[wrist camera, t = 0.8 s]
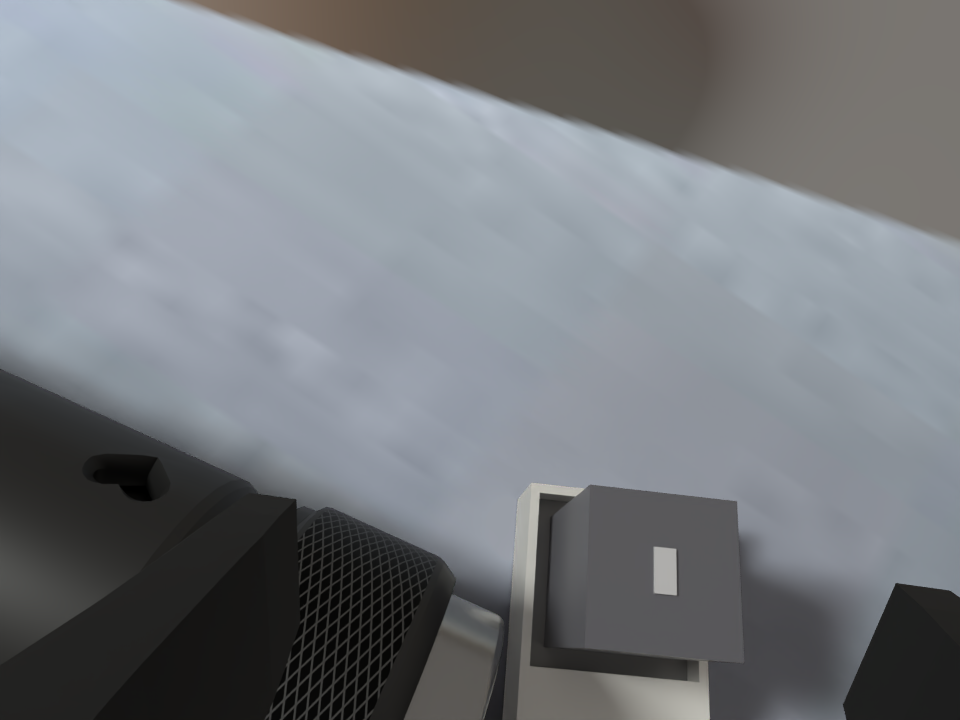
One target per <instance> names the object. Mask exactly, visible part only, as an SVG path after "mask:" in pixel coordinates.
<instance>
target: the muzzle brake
mask: <svg viewBox="0 0 960 720" xmlns="http://www.w3.org/2000/svg"><path fill="white" fill-rule="evenodd" d="M248 493H253V494H257V492H256V490H255V489H254V487H253V486H252V485H251V484H250V483H249V482H247V481H245V480H243V479H241V478H239V477H236V476H234V475H232V474H230V473H228V472H225V471H223V470H221V469H219V468H217V467H215V466H212V465H210V464H208V463H206V462H204V461H201V460H199V459H197V458H195V457H193V456H190V455H188V454H186V453H184V452H182V451H179V450H177V449H175V448H173V447H171V446H168V445H166V444H164V443H162V442H160V441H157V440H155V439H153V438H151V437H149V436H146V435H144V434H142V433H140V432H138V431H136V430H133V429H131V428H129V427H127V426H125V425H122V424H120V423H118V422H116V421H114V420H111V419H109V418H107V417H105V416H103V415H100V414H98V413H96V412H94V411H92V410H89V409H87V408H85V407H83V406H81V405H78V404H76V403H74V402H72V401H70V400H67V399H65V398H63V397H61V396H59V395H56V394H54V393H52V392H50V391H48V390H46V389H43V388H41V387H39V386H37V385H35V384H32V383H30V382H28V381H26V380H24V379H21V378H19V377H17V376H15V375H13V374H10V373H8V372H6V371H4V370H2V369H0V665H1V664H3V663H4V662H6V661H7V660H9V659H11V658H12V657H14V656H15V655H17V654H18V653H20V652H21V651H23V650H24V649H26V648H27V647H29V646H30V645H32V644H34V643H35V642H37V641H38V640H40V639H41V638H43V637H44V636H46V635H47V634H49V633H50V632H52V631H53V630H55V629H57V628H58V627H60V626H61V625H63V624H64V623H66V622H67V621H69V620H70V619H72V618H73V617H75V616H76V615H78V614H80V613H81V612H83V611H84V610H86V609H87V608H89V607H90V606H92V605H93V604H95V603H96V602H98V601H99V600H101V599H102V598H103V597H105V596H106V595H108V594H109V593H110V592H112V591H113V590H115V589H116V588H118V587H119V586H120V585H122V584H123V583H125V582H126V581H127V580H129V579H130V578H132V577H133V576H135V575H136V574H137V573H139V572H140V571H142V570H143V569H144V568H146V567H147V566H149V565H150V564H152V563H153V562H154V561H156V560H157V559H158V558H160V557H161V556H163V555H164V554H165V553H167V552H168V551H169V550H171V549H172V548H173V547H175V546H176V545H178V544H179V543H180V542H182V541H183V540H184V539H186V538H187V537H188V536H190V535H191V534H193V533H194V532H195V531H197V530H198V529H199V528H201V527H202V526H203V525H205V524H206V523H207V522H209V521H210V520H212V519H213V518H214V517H216V516H217V515H218V514H220V513H221V512H223V511H224V510H225V509H227V508H228V507H229V506H231V505H232V504H234V503H235V502H236V501H238V500H239V499H241V498H242V497H244V496H245V495H246V494H248ZM297 537H298V568H299V598H300V625H299V628H298V631H297V634H296V637H295V640H294V643H293V646H292V649H291V652H290V655H289V658H288V661H287V664H286V667H285V670H284V672H283V675H282V678H281V681H280V684H279V686H278V689H277V692H276V695H275V698H274V700H273V703H272V705H271V707H270V709H269V711H268V714H267V716H266V718H265V720H484V718H485V714H486V711H487V708H488V704H489V701H490V698H491V694H492V690H493V687H494V683H495V679H496V675H497V672H498V668H499V663H500V658H501V653H502V649H503V641H504V620H503V619H502V618H501V617H500V616H499V615H497V614H495V613H493V612H491V611H489V610H486V609H484V608H482V607H480V606H478V605H475V604H473V603H471V602H469V601H467V600H464V599H462V598H460V597H458V596H456V595H454V594H452V592H453V589H454V586H455V582H456V578H455V577H454V575H453V574H452V572H451V571H450V569H449V568H448V566H447V565H446V563H445V562H444V561H443V560H442V559H441V558H440V557H438V556H436V555H434V554H432V553H429V552H427V551H425V550H423V549H421V548H418V547H416V546H414V545H412V544H410V543H407V542H405V541H403V540H401V539H399V538H396V537H394V536H392V535H390V534H388V533H385V532H383V531H381V530H379V529H377V528H374V527H372V526H370V525H368V524H366V523H363V522H361V521H359V520H357V519H355V518H352V517H350V516H348V515H346V514H344V513H341V512H339V511H337V510H335V509H333V508H329V507H326V508H324V509H321V510H319V511H314V510H312V509H309V508H307V507H305V506H304V507H301V508H298V509H297Z"/></svg>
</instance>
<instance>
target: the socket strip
mask: <svg viewBox="0 0 960 720" xmlns="http://www.w3.org/2000/svg"><path fill="white" fill-rule="evenodd" d="M583 490H584V489H582V488H573V487H564V486H555V485H547V484H538V483H531V484H530V485H529V486H528V488H527V489H526V490H525V491H524V492H523V494H522V495H521V496H520V497H519V498H518V502H517V516H516V531H515V545H514V560H513V574H512V588H511V603H510V617H509V631H508V646H507V660H506V675H505V689H504V703H503V718H502V720H710V713H709V677H708V661H691V660H673V659H661V658H651V657H640V656H630V655H620V654H610V653H599V652H589V651H579V650H569V649H558V648H548V647H544V633H545V614H546V594H547V575H548V556H549V537H550V517H551V516H553V515H554V514H555V513H556V512H558V511H559V510H560V509H561V508H562V507H564V506H565V505H566V504H567V503H568V502H570V501H571V500H572V499H573V498H575V497H576V496H577V495H578V494H579V493H581V492H582V491H583Z"/></svg>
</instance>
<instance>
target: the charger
mask: <svg viewBox="0 0 960 720" xmlns="http://www.w3.org/2000/svg"><path fill="white" fill-rule="evenodd" d="M544 647H548V648H558V649H569V650H579V651H589V652H599V653H610V654H620V655H630V656H640V657H651V658H661V659H673V660H691V661H709V662H727V663H744V646H743V624H742V602H741V580H740V558H739V536H738V514H737V501H729V500H720V499H711V498H703V497H694V496H685V495H676V494H667V493H658V492H650V491H641V490H632V489H623V488H614V487H606V486H597V485H589V486H588V487H587V488H585V489H584V490H583V491H582V492H581V493H579V494H578V495H577V496H576V497H575V498H573V499H572V500H571V501H570V502H568V503H567V504H566V505H565V506H564V507H562V508H561V509H560V510H559V511H558V512H556V513H555V514H554V515H553V516H551V517H550V537H549V556H548V575H547V594H546V614H545V633H544Z"/></svg>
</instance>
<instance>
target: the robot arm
mask: <svg viewBox="0 0 960 720" xmlns="http://www.w3.org/2000/svg"><path fill="white" fill-rule="evenodd" d="M299 625H300V598H299V568H298V537H297V507H296V499H289V498H282V497H275V496H268V495H261V494H253V493H248V494H246V495H245V496H244V497H242V498H241V499H239V500H238V501H236V502H235V503H234V504H232V505H231V506H229V507H228V508H227V509H225V510H224V511H223V512H221V513H220V514H218V515H217V516H216V517H214V518H213V519H212V520H210V521H209V522H207V523H206V524H205V525H203V526H202V527H201V528H199V529H198V530H197V531H195V532H194V533H193V534H191V535H190V536H188V537H187V538H186V539H184V540H183V541H182V542H180V543H179V544H178V545H176V546H175V547H173V548H172V549H171V550H169V551H168V552H167V553H165V554H164V555H163V556H161V557H160V558H158V559H157V560H156V561H154V562H153V563H152V564H150V565H149V566H147V567H146V568H144V569H143V570H142V571H140V572H139V573H137V574H136V575H135V576H133V577H132V578H130V579H129V580H127V581H126V582H125V583H123V584H122V585H120V586H119V587H118V588H116V589H115V590H113V591H112V592H110V593H109V594H108V595H106V596H105V597H103V598H102V599H101V600H99V601H98V602H96V603H95V604H93V605H92V606H90V607H89V608H87V609H86V610H84V611H83V612H81V613H80V614H78V615H76V616H75V617H73V618H72V619H70V620H69V621H67V622H66V623H64V624H63V625H61V626H60V627H58V628H57V629H55V630H53V631H52V632H50V633H49V634H47V635H46V636H44V637H43V638H41V639H40V640H38V641H37V642H35V643H34V644H32V645H30V646H29V647H27V648H26V649H24V650H23V651H21V652H20V653H18V654H17V655H15V656H14V657H12V658H11V659H9V660H7V661H6V662H4V663H3V664H1V665H0V720H265V718H266V716H267V714H268V711H269V709H270V707H271V705H272V703H273V700H274V698H275V695H276V692H277V689H278V686H279V684H280V681H281V678H282V675H283V672H284V670H285V667H286V664H287V661H288V658H289V655H290V652H291V649H292V646H293V643H294V640H295V637H296V634H297V631H298V628H299ZM843 707H844V711H845V715H846V720H960V598H959V597H958V596H957V595H955V594H954V593H953V592H951V591H949V590H942V589H934V588H927V587H920V586H913V585H906V584H899V583H896V584H895V587H894V589H893V591H892V593H891V596H890V598H889V600H888V603H887V605H886V607H885V610H884V612H883V614H882V616H881V619H880V621H879V623H878V626H877V628H876V630H875V633H874V635H873V637H872V639H871V642H870V644H869V646H868V649H867V651H866V653H865V656H864V658H863V660H862V662H861V665H860V667H859V669H858V672H857V674H856V676H855V679H854V681H853V683H852V685H851V688H850V690H849V692H848V695H847V697H846V699H845V702H844V704H843Z"/></svg>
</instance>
